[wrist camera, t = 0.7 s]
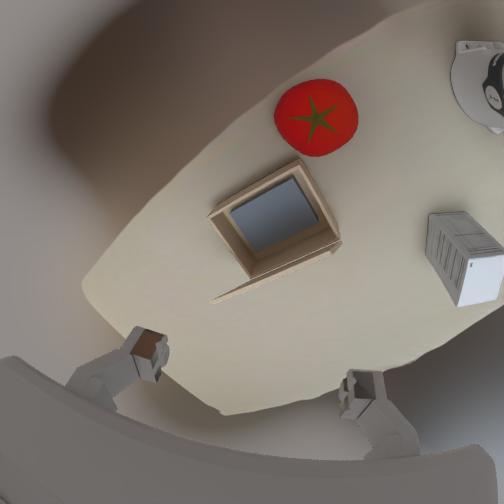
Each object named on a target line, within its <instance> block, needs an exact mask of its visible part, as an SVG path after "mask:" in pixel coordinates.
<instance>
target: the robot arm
mask: <svg viewBox="0 0 504 504" xmlns="http://www.w3.org/2000/svg"><path fill="white" fill-rule="evenodd" d="M466 46H467V48H466ZM451 82H452V87H453V91H454V94H455V96H456V99H457V101H458V103H459V105H460V106H461V108H462V109H463V110H464V112H465V113H466V114H467V115H468V116H469V117H470V118H471V119H473V120H474V121H476V122H478V123H480V124H483V125H485V126H486V127H487V128H488V129H489V130H490V131H491V132H492V133H494V134H500V133H501V132H502V131H504V43H503V42H502V41H495V42H488V41H457V42H456V57H455V60H454V62H453V65H452V69H451ZM167 341H168V338H167V335H164V334H161V333H158V332H155V331H152V330H149V329H145V328H142V327H139V326H136V327H134V328H133V330H132V331H131V333H130V334H129V336H128V337H127V339H126V340H125V342H124V343H123V345H122V346H121V348H120V349H119V350H118V349H115V350H113V351H112V352H109V353H107V354H105V355H103V356H101V357H99V358H97V359H94V360H92V361H90V362H88V363H86V364H84V365H82V366H80V367H78V368H77V369H76V371H75V372H74V373H73V375H72V376H71V378H70V379H69V381H68V382H67V384H66V385H65V386H63V385H61V384H60V383H58V382H56V381H54V380H53V379H51V378H49V377H48V376H46V375H45V374H43V373H41V372H40V371H38V370H37V369H35V368H34V367H32V366H31V365H29V364H28V363H26V362H25V361H24V360H22V359H21V358H19V357H18V356H14V355H13V356H8V357H5V358H2V359H0V504H498V492H497V477H496V469H495V464H494V461H493V459H492V458H491V456H490V455H489V454H488V453H487V452H486V451H485V450H484V449H483V448H482V447H481V446H480V445H478V444H471V445H468V446H464V447H460V448H456V449H451V450H446V451H441V452H436V453H430V454H425V455H420V448H419V441H418V435H417V432H416V430H415V429H414V428H413V427H412V426H411V425H410V423H409V422H408V421H407V420H406V419H405V417H404V416H403V415H402V414H401V413H400V412H399V410H398V409H397V408H396V407H395V406H394V405H393V403H392V402H391V401H390V400H387V397H386V391H385V386H384V380H383V374H382V372H381V371H372V370H371V371H370V370H360V369H350V370H348V372H347V378H345V379H343V380H342V382H341V385H340V388H339V399H340V400H341V401H342V403H341V405H340V406H339V418H341V419H357V420H356V421H357V422H358V424H359V426H360V427H361V429H362V431H363V432H364V434H365V436H366V437H367V439H368V440H369V442H370V444H371V445H372V447H373V449H372V450H371V451H370V452H368V453H367V454H366V455H365V456H364V460H357V461H356V460H354V461H338V460H312V459H298V458H288V457H279V456H271V455H263V454H257V453H250V452H245V451H240V450H235V449H230V448H225V447H221V446H217V445H212V444H208V443H204V442H200V441H197V440H193V439H189V438H186V437H183V436H179V435H175V434H172V433H170V432H166V431H164V430H161V429H158V428H155V427H152V426H149V425H147V424H144V423H141V422H139V421H136V420H134V419H131V418H129V417H126V416H124V415H122V414H119V413H117V412H116V411H117V406H116V404H115V403H114V401H113V399H112V398H113V397H115V396H116V395H117V394H119V393H120V392H122V391H124V390H125V389H126V388H128V387H129V386H131V385H132V384H134V383H135V382H137V381H138V380H140V379H144V380H147V381H150V382H153V383H157V382H158V380H159V378H160V376H161V374H162V372H161V368H162V367H164V366H165V365H166V363H167V361H168V358H169V346H168V345H167V344H166V343H167Z"/></svg>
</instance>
